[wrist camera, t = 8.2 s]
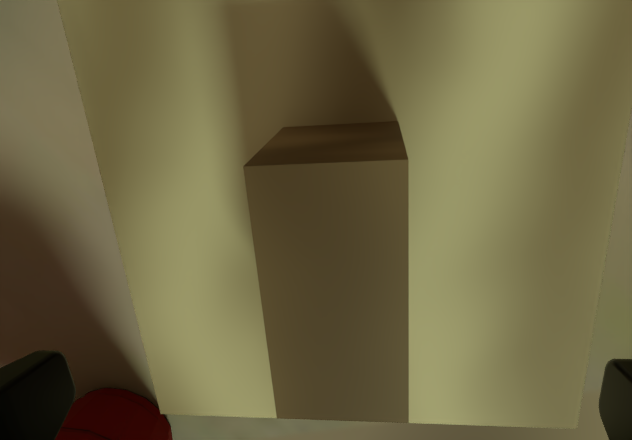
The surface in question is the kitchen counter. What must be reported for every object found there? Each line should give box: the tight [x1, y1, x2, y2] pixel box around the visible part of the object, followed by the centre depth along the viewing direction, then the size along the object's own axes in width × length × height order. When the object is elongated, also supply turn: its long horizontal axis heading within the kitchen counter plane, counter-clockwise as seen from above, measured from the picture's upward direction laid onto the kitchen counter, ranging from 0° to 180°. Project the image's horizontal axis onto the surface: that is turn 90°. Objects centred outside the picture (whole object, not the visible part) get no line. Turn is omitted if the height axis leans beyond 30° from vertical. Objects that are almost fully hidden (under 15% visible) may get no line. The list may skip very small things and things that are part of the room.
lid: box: [57, 0, 632, 429], centre depth 12 cm, size 14×14×5 cm
